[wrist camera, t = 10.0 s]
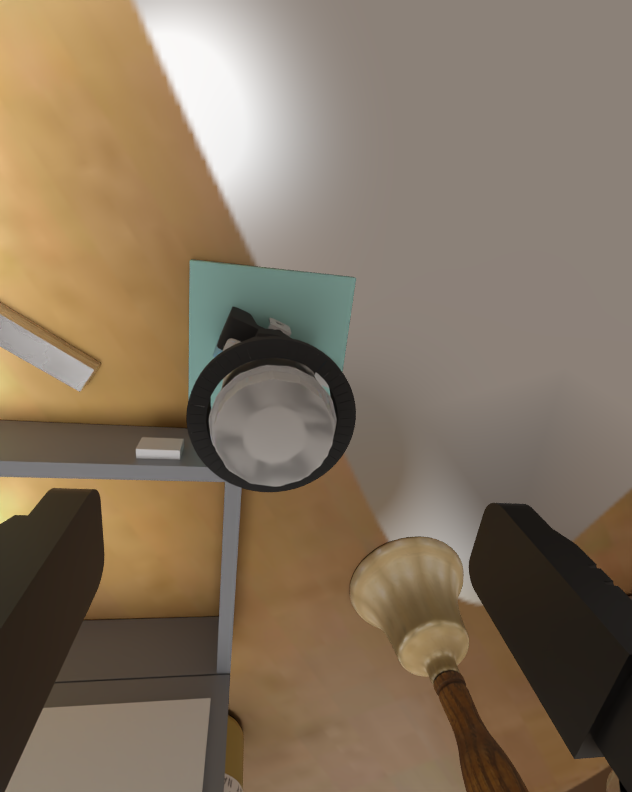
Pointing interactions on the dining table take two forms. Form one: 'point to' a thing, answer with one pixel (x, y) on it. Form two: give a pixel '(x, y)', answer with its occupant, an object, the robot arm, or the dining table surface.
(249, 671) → the dining table surface
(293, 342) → the push button
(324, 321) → the pad
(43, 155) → the dining table surface
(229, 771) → the brown bark-textured cylinder
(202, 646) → the case
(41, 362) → the rod
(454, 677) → the hand bell
